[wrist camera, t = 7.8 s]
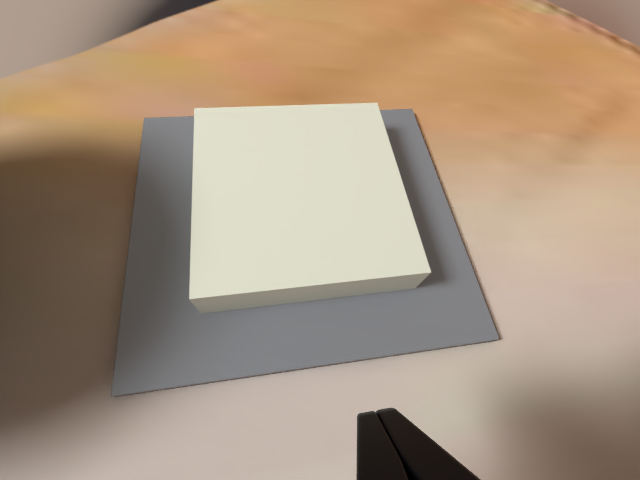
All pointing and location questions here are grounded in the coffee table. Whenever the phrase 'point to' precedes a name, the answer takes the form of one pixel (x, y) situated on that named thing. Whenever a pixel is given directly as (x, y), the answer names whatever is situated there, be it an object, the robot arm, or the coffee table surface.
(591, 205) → the coffee table surface
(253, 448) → the coffee table surface
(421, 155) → the slate mat
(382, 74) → the coffee table surface
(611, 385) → the coffee table surface
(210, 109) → the ceramic tile
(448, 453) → the robot arm
